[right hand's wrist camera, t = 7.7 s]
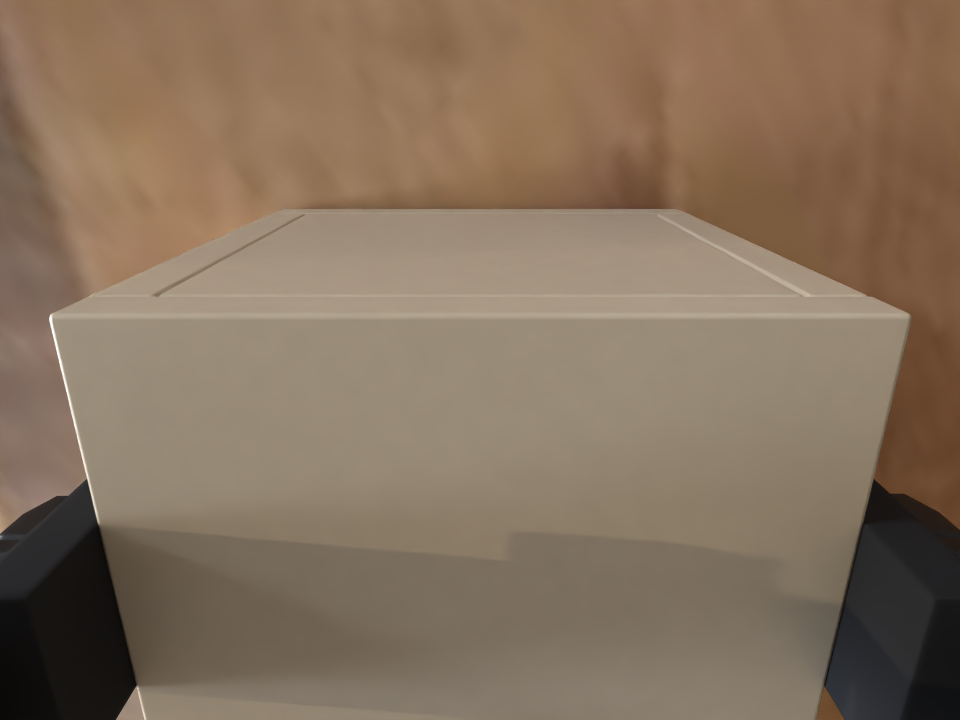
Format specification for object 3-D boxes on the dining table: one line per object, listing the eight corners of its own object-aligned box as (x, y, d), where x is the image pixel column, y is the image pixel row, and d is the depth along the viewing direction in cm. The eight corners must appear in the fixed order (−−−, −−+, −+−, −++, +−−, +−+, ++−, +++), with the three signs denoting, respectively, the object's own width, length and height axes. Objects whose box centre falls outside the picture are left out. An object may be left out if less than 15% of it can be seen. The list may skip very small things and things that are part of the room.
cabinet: (617, 812, 23) (698, 1219, 15) (342, 811, 23) (261, 1219, 15) (680, 208, 16) (916, 314, 7) (280, 208, 16) (44, 313, 7)
